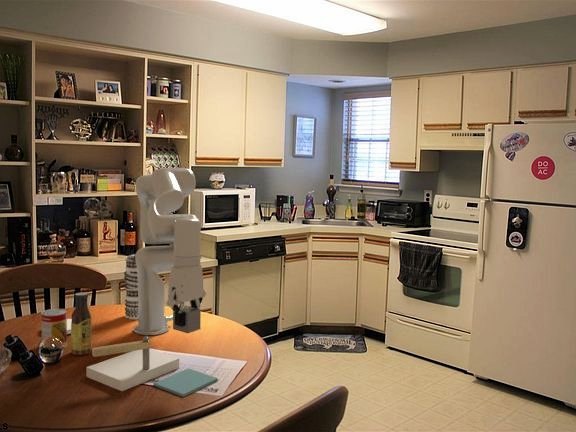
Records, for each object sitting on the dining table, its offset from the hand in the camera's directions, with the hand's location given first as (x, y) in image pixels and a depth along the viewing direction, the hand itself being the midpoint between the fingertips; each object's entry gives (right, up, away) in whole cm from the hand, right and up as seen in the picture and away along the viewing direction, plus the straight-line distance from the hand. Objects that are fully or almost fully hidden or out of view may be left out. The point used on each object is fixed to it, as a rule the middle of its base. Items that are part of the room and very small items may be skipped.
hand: (186, 322), depth 162 cm
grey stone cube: (0, -2, 0) cm, 2 cm away
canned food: (-50, -14, +29) cm, 59 cm away
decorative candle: (-32, -10, +65) cm, 73 cm away
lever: (-19, -8, 0) cm, 20 cm away
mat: (-1, -18, +2) cm, 18 cm away
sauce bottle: (-39, -15, +24) cm, 48 cm away
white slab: (-18, -17, +9) cm, 26 cm away
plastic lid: (-54, -12, +46) cm, 71 cm away
